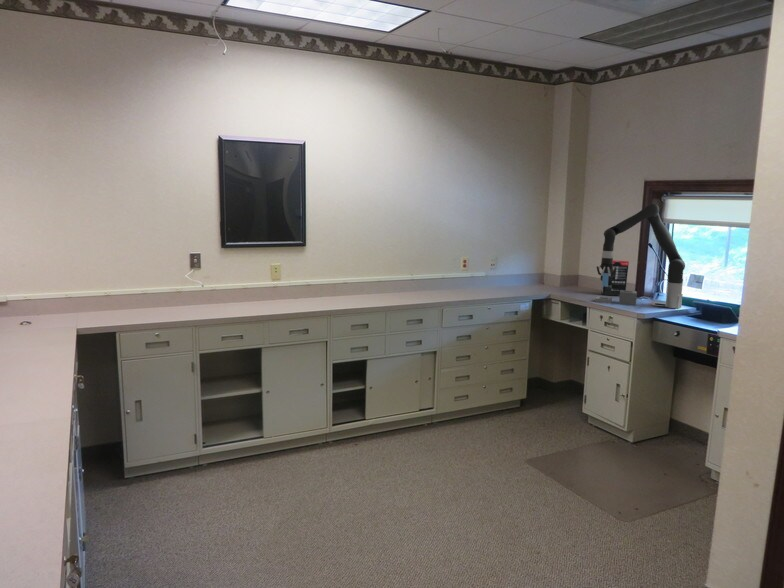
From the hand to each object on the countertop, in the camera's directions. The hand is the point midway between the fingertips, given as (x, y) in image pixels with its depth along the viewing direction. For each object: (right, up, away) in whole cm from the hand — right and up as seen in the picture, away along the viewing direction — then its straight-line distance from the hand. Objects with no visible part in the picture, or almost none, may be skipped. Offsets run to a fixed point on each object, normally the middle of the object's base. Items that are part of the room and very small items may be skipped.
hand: (605, 280), depth 409 cm
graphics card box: (+18, -11, +32) cm, 38 cm away
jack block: (+7, -16, -1) cm, 17 cm away
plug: (0, -4, +1) cm, 4 cm away
